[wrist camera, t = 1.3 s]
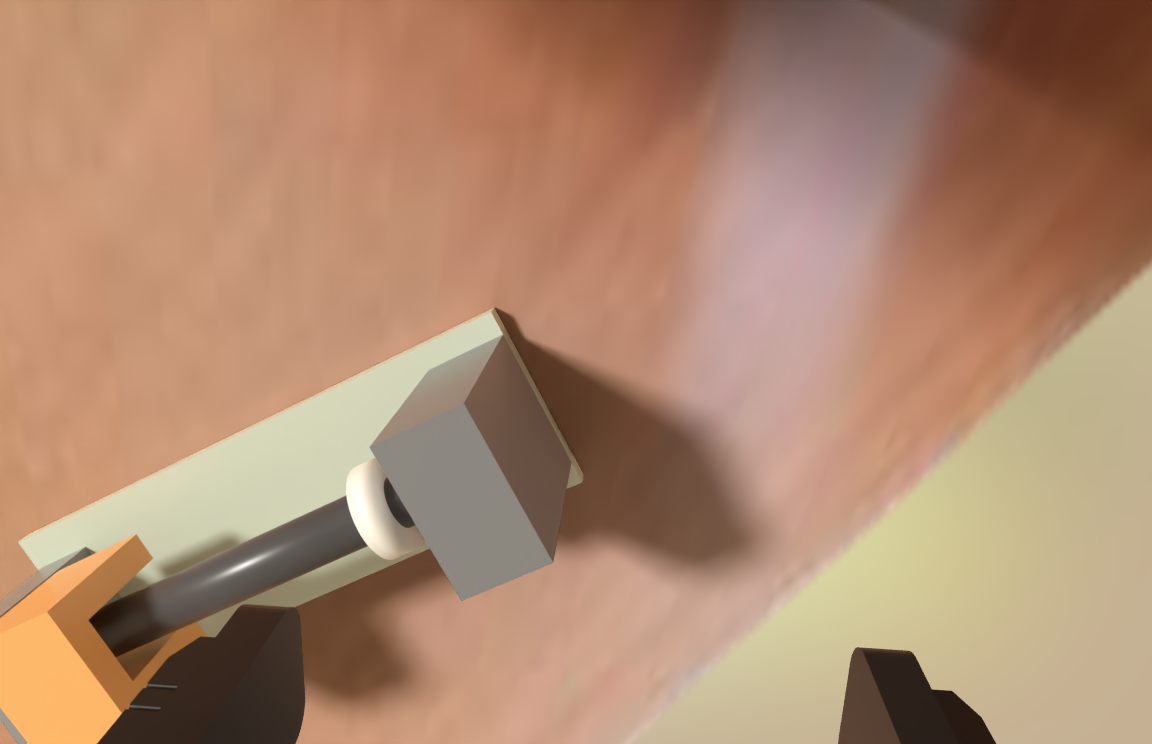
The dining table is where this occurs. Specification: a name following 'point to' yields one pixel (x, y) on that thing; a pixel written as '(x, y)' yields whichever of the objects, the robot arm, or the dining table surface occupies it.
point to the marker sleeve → (76, 652)
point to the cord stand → (336, 495)
